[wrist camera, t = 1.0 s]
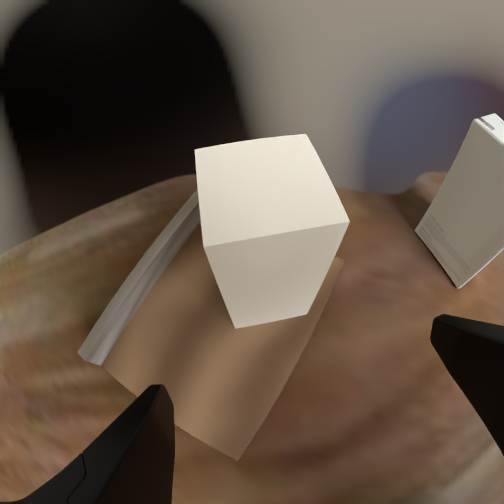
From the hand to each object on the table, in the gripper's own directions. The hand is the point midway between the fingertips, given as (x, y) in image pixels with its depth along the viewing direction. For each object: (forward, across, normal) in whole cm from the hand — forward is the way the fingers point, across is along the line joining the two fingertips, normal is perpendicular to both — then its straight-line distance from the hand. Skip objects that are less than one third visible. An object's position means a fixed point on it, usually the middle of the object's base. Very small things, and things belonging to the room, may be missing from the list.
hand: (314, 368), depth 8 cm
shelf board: (+14, +4, +5) cm, 15 cm away
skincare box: (+15, -20, +4) cm, 26 cm away
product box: (+14, 0, +3) cm, 14 cm away
